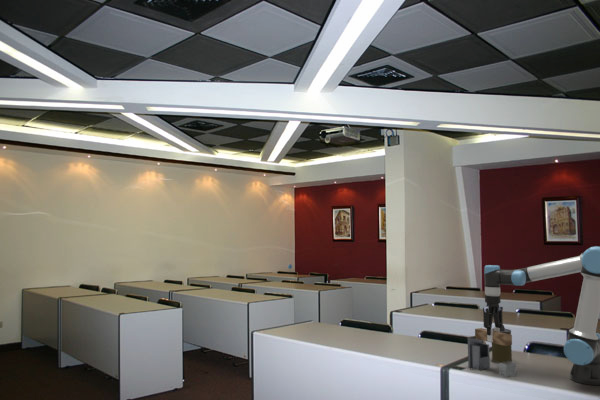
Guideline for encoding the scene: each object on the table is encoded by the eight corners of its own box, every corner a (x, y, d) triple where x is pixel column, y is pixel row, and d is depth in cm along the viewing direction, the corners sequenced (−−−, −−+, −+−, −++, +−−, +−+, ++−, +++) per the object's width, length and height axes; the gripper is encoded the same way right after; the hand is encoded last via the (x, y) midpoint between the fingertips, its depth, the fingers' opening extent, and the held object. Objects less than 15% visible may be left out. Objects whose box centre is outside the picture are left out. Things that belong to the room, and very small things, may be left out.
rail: (511, 344, 233) (511, 334, 233) (505, 345, 230) (505, 335, 230) (481, 337, 248) (481, 328, 248) (475, 338, 245) (475, 328, 246)
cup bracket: (491, 367, 244) (490, 336, 245) (477, 370, 238) (476, 338, 239) (481, 365, 249) (480, 334, 250) (468, 368, 243) (467, 336, 244)
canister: (514, 364, 250) (513, 326, 252) (494, 363, 252) (492, 326, 254) (509, 359, 261) (508, 323, 263) (490, 358, 263) (488, 322, 265)
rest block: (516, 374, 231) (515, 362, 231) (506, 377, 226) (506, 364, 227) (508, 373, 234) (508, 360, 234) (499, 375, 230) (498, 362, 230)
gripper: (497, 293, 249) (498, 338, 246) (475, 295, 239) (476, 341, 237) (509, 295, 242) (510, 340, 240) (487, 296, 233) (488, 344, 231)
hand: (493, 340), depth 239 cm, fingers closed on rail, 5 cm apart
